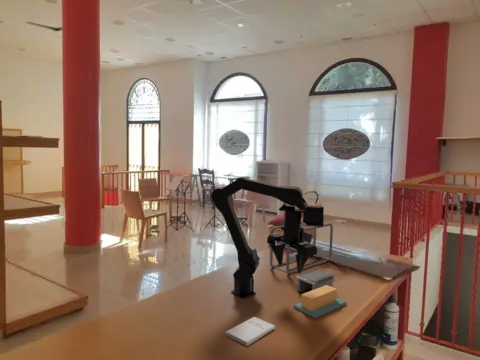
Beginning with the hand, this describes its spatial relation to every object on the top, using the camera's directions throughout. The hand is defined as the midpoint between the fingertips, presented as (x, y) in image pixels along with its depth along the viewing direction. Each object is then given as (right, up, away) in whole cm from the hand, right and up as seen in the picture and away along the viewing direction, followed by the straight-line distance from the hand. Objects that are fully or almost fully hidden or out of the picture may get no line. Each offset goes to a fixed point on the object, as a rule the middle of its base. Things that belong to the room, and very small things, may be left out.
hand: (289, 268), depth 128 cm
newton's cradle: (+10, -7, +37) cm, 39 cm away
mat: (+10, -11, -4) cm, 15 cm away
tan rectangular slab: (+9, -10, -4) cm, 14 cm away
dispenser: (+10, -10, +8) cm, 16 cm away
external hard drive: (-14, -14, -21) cm, 29 cm away
